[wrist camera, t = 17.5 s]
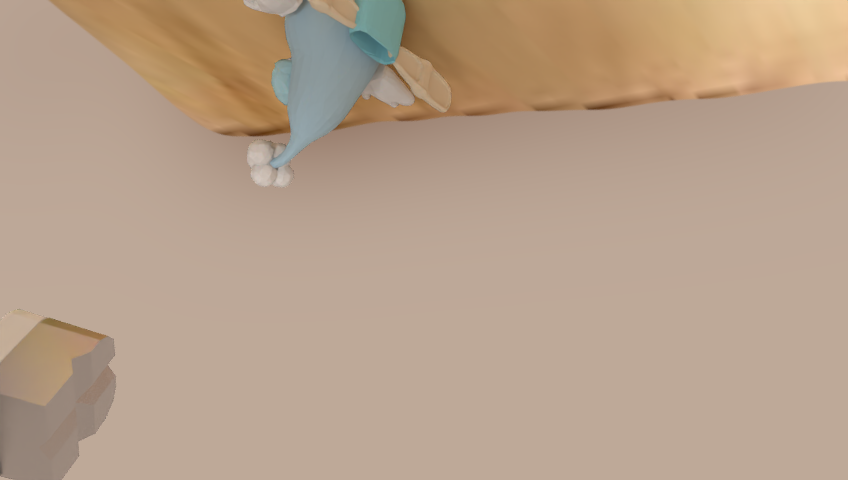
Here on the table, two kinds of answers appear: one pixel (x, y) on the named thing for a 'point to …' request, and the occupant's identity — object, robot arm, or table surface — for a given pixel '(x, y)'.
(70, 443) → the robot arm
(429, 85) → the toy figure
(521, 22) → the table surface
